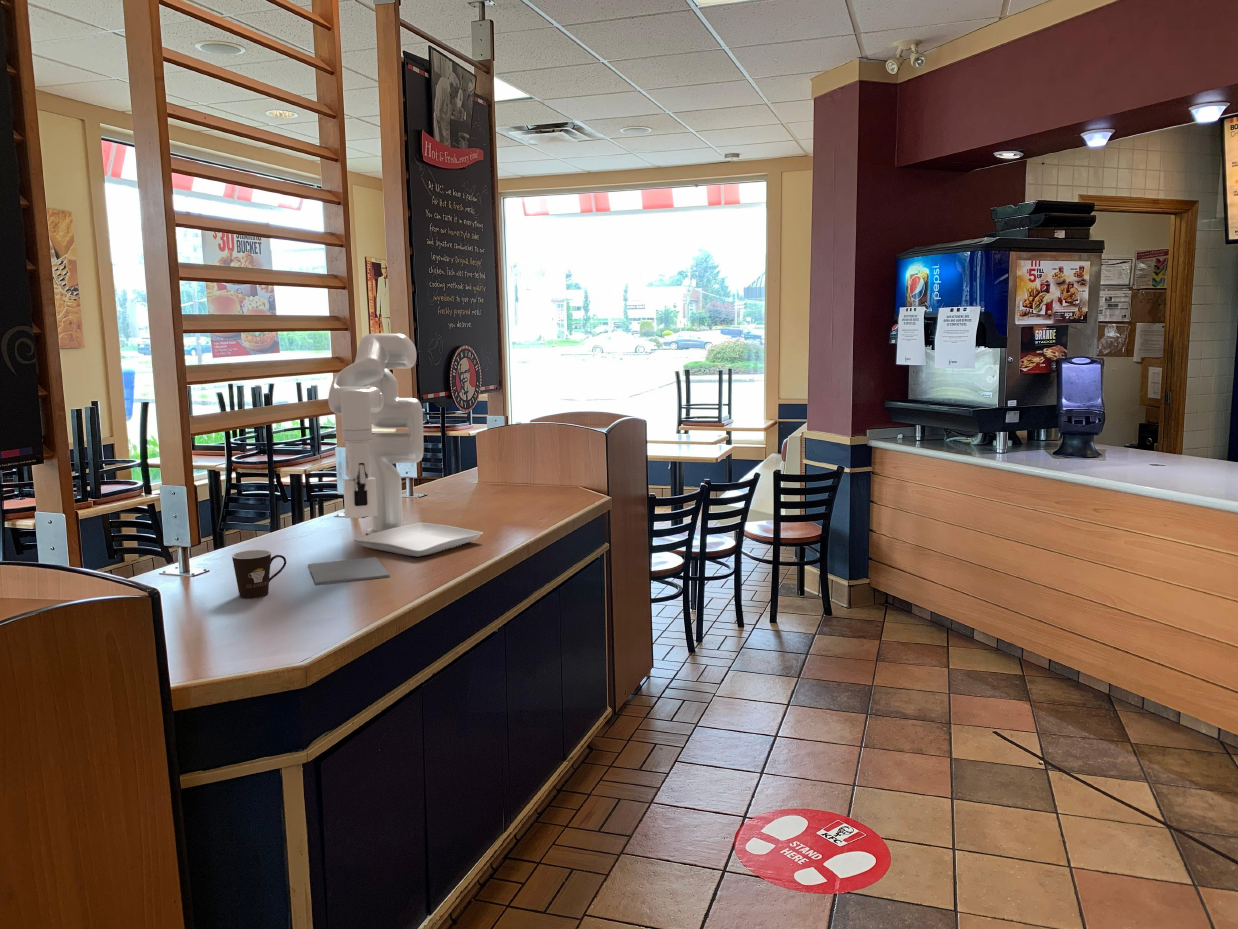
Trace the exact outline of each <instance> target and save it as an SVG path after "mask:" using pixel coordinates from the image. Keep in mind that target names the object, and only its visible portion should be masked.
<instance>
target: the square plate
mask: <svg viewBox="0 0 1238 929" xmlns="http://www.w3.org/2000/svg"><path fill="white" fill-rule="evenodd" d="M483 534H484V532H483V531H477V530H473V529H468V528H463V527H457V526H453V525H452V526H451V525H445V524H437V523H427V522H417V523H412V524H408V525H403V526H402V527H397V528H392V529H388V530H384V531H381V532H377V533H373V534H370V535H369V534H367V535H364V536H359V537H356V538H353V541H354V542H355V543H356V544H358V545H360V546H362V547H364V548H368V549H373V550H378V551H383V552H387V553H393V554H399V555H404V556H410V557H422V556H423V557H424V556H429V555H432V554H436V553H440V552H443V551H446V550H450V549H453V548H457V547H460V546H463V545H466V544H467V543H470V542H473V541H475V540H477V539H478V538H480V536H481V535H483ZM462 544H463V545H462ZM459 545H460V546H459ZM456 546H457V547H456ZM449 548H450V549H449ZM445 549H446V550H445ZM442 550H443V551H442Z"/></svg>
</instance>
